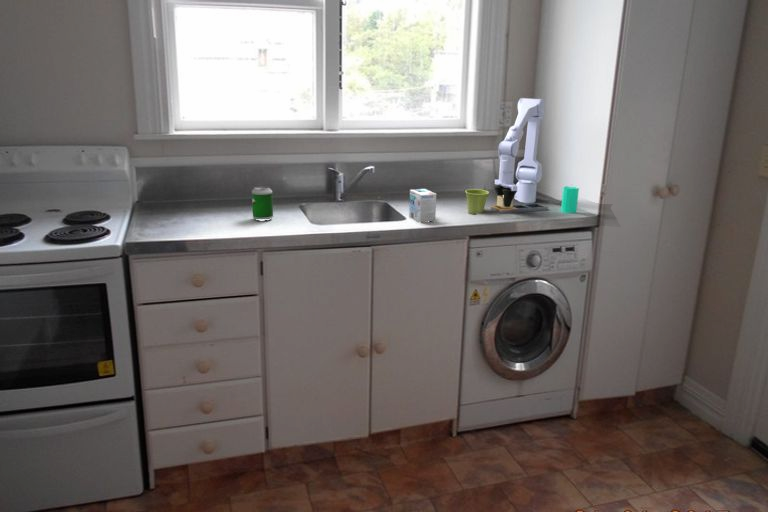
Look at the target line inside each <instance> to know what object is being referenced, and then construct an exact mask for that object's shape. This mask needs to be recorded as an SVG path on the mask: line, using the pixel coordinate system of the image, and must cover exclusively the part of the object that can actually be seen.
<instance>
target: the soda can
mask: <svg viewBox="0 0 768 512" xmlns="http://www.w3.org/2000/svg"><path fill="white" fill-rule="evenodd" d="M251 200H252V201H251V203H252V204H251V205H252V218H253V219H254V218H255V219H270V218H272V217H273V218H274V210H273V209H274V205H273V203H274V202H273V201H274V199H273V190H272V189H271V188H270V187H269V186H256V187H254V188H253V189H252V190H251ZM273 218H272V219H273ZM255 219H254V220H255Z"/></svg>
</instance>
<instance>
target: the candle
mask: <svg viewBox="0 0 768 512" xmlns="http://www.w3.org/2000/svg"><path fill="white" fill-rule="evenodd" d="M572 185H573V184H572V183H571V185H570V186H568V185H567V186H563V187H562V199H561V207H560V211H561V212H562V213H567V214H575V213H577V209H578V199H579V190H580V189H579V187H576V186H572Z"/></svg>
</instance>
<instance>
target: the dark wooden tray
mask: <svg viewBox="0 0 768 512" xmlns="http://www.w3.org/2000/svg"><path fill="white" fill-rule="evenodd" d="M548 209H549V208H548V206H545V204H544V205H543V204H540V203H524V204H513V205H512V208H510V209H499V208H497V205H491V207H490V210H491V211H493V212H495V213H497V214H512V213H524V212H525V213H526V212H527V213H528V212H540V211H548Z"/></svg>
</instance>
